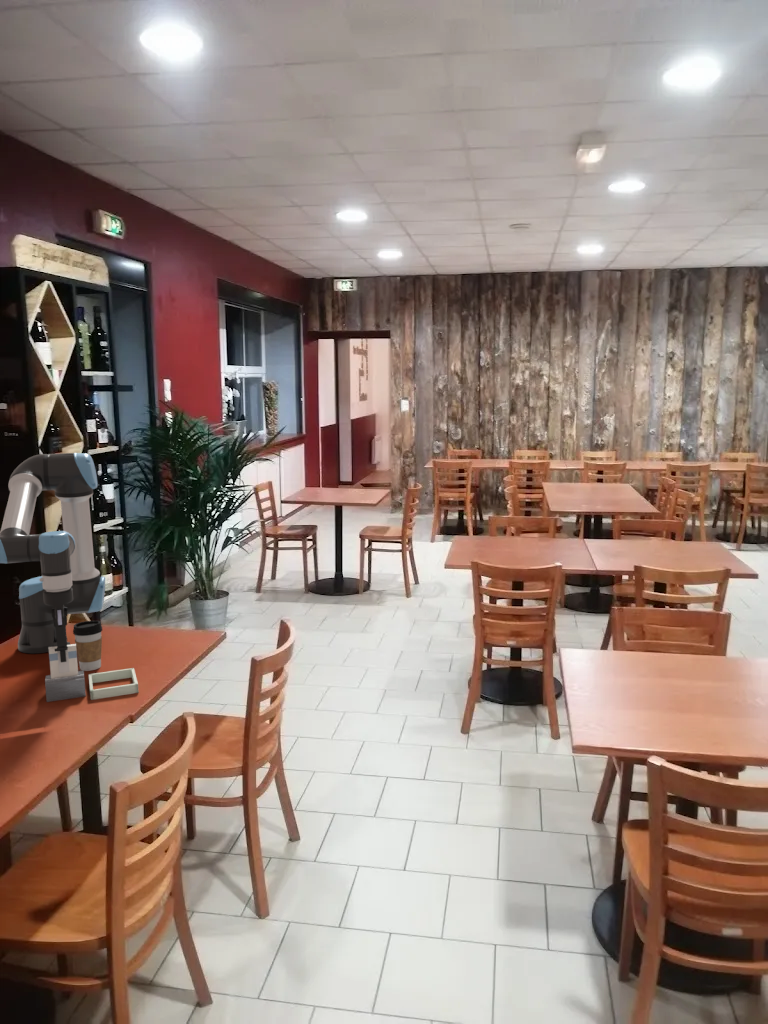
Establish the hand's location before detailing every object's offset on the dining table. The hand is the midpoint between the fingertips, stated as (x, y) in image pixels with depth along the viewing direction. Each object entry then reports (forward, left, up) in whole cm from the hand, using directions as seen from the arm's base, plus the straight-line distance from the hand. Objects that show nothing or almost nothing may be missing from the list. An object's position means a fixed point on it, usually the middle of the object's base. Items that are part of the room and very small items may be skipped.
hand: (64, 670), depth 217 cm
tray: (0, +12, -8) cm, 15 cm away
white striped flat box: (0, 0, -7) cm, 7 cm away
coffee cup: (-20, +7, -8) cm, 23 cm away
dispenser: (0, 0, -8) cm, 8 cm away
